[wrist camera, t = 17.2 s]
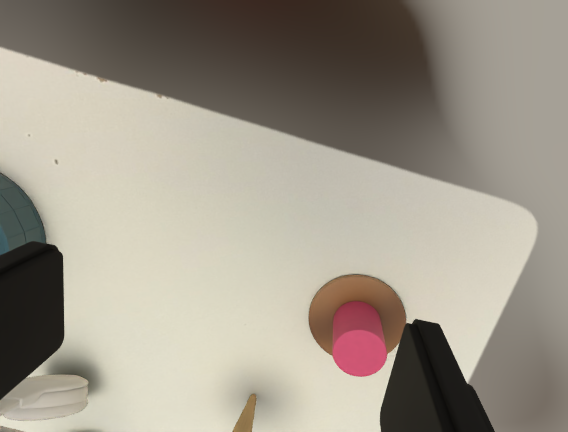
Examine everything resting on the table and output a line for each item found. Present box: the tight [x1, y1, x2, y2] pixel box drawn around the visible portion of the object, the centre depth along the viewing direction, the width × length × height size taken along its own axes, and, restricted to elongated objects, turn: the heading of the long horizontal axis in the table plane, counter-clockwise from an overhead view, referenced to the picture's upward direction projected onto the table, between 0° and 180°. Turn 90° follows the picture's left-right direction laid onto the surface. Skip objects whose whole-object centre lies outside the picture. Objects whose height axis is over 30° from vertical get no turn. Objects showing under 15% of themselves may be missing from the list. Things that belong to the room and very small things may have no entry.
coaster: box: [309, 275, 406, 356], centre depth 37 cm, size 9×9×1 cm
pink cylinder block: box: [332, 301, 387, 377], centre depth 34 cm, size 4×4×5 cm
